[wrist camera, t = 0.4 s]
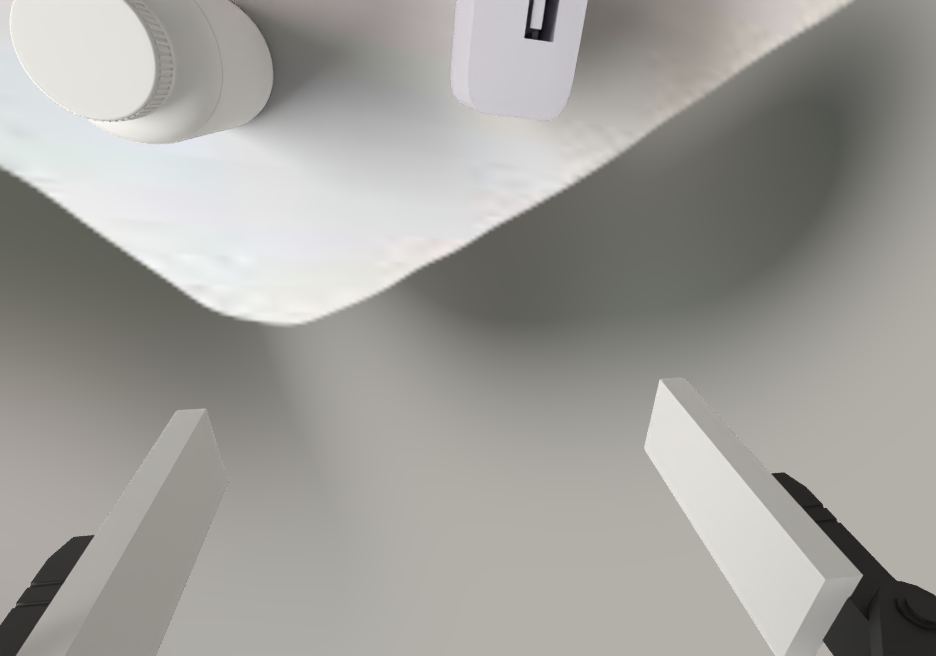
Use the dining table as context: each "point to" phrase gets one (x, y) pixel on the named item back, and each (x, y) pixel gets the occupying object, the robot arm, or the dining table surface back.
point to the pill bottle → (146, 64)
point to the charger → (516, 55)
